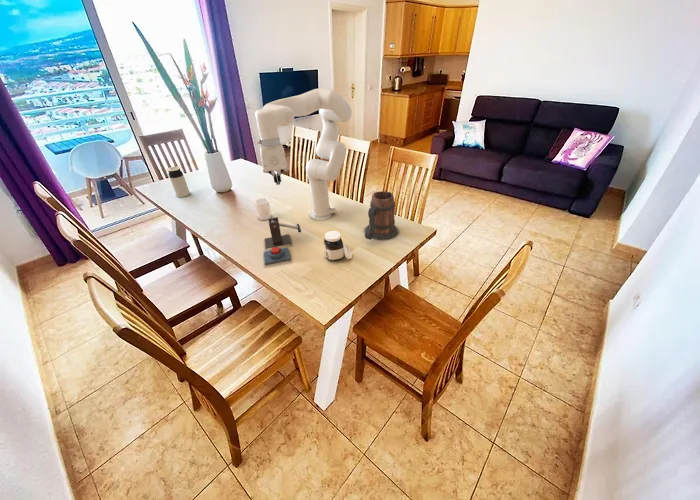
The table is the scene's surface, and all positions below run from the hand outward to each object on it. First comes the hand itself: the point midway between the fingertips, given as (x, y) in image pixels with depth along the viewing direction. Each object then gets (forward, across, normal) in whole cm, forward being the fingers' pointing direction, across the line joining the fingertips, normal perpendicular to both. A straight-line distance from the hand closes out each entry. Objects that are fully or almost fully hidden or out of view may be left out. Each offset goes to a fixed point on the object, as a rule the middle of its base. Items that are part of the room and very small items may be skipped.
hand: (278, 183), depth 132 cm
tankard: (+29, +44, -12) cm, 54 cm away
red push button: (+25, -7, -17) cm, 31 cm away
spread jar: (+29, +20, -24) cm, 43 cm away
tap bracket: (+29, -6, -4) cm, 29 cm away
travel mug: (+29, -60, +75) cm, 100 cm away
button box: (+28, -7, -17) cm, 34 cm away
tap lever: (+21, -1, -4) cm, 21 cm away
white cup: (+29, -10, +25) cm, 40 cm away
